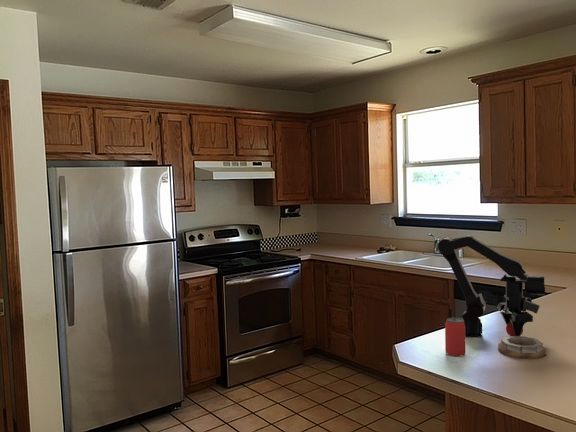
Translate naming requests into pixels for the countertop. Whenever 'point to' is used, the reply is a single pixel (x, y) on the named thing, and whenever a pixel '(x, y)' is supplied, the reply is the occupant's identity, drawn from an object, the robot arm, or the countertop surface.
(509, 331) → the onion
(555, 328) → the countertop surface
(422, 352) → the countertop surface
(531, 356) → the ring board
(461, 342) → the beer can
